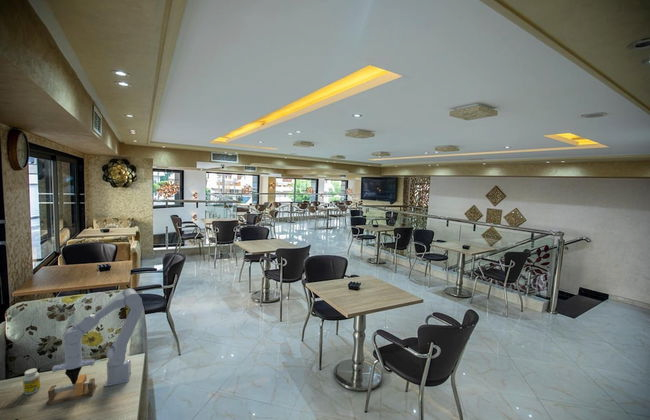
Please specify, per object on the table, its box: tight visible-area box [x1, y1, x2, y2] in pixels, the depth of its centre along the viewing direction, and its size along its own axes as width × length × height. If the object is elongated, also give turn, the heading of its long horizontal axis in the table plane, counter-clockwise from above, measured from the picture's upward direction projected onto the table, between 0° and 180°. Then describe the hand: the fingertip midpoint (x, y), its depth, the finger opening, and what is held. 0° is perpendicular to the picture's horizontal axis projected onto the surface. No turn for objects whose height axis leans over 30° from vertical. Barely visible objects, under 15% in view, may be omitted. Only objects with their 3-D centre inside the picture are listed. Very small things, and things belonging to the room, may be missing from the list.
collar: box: [75, 373, 88, 396], centre depth 136 cm, size 2×6×6 cm, turn 24°
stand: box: [45, 377, 97, 406], centre depth 135 cm, size 16×7×5 cm, turn 114°
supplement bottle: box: [22, 367, 41, 395], centre depth 137 cm, size 5×5×10 cm
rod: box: [54, 379, 94, 393], centre depth 135 cm, size 16×2×2 cm, turn 114°
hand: (74, 382), depth 135 cm, fingers closed
